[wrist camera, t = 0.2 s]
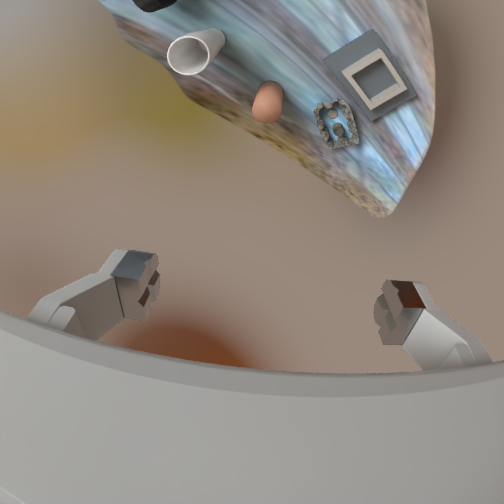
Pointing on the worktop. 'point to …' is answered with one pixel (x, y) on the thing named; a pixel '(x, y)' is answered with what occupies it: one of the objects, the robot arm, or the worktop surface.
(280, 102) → the pillar
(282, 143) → the worktop surface
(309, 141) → the worktop surface
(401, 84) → the base board
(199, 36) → the drinking glass
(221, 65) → the worktop surface
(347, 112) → the grey rock frame
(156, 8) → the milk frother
